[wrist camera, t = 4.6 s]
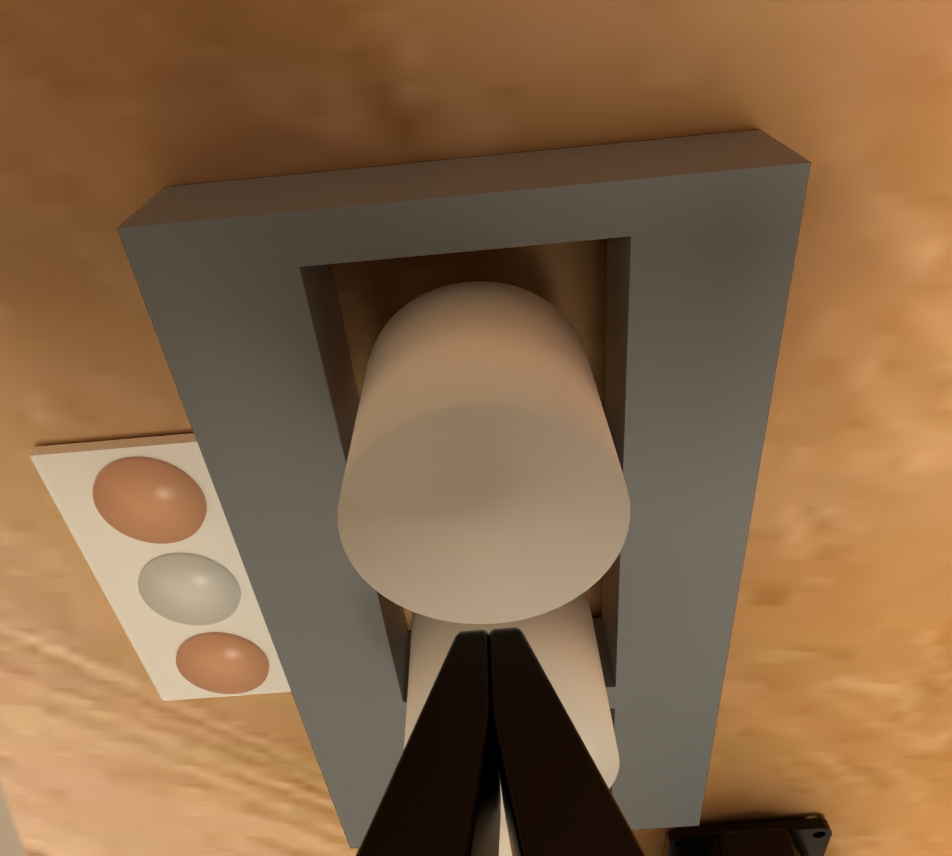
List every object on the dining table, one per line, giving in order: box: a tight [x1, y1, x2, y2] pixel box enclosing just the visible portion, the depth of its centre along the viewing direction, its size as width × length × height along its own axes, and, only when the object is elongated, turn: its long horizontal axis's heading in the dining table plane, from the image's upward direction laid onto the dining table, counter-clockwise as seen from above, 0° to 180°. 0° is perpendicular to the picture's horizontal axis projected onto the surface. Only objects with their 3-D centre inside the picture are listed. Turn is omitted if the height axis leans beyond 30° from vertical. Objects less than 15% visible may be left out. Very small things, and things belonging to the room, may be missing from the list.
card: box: [30, 433, 291, 701], centre depth 21 cm, size 10×5×1 cm, turn 5°
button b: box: [404, 591, 620, 827], centre depth 17 cm, size 5×5×4 cm
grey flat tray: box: [117, 129, 811, 848], centre depth 20 cm, size 22×12×2 cm, turn 5°
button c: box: [337, 281, 630, 624], centre depth 13 cm, size 5×5×4 cm
